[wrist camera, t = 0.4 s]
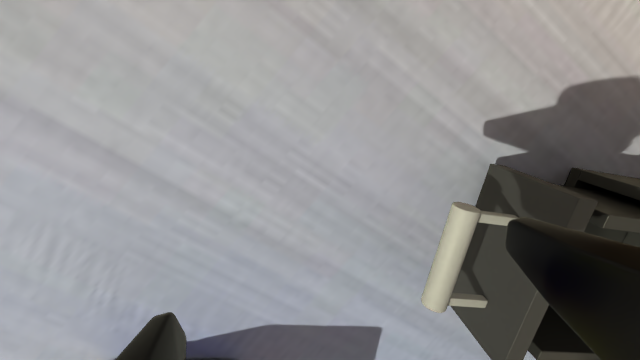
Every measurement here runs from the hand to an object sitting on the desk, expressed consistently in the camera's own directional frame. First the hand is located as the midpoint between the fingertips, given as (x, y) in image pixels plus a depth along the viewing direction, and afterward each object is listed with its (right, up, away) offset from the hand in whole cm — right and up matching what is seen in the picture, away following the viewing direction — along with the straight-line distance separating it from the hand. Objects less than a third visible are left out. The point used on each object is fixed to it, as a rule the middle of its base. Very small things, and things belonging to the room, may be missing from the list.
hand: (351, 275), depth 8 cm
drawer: (+15, -2, +16) cm, 22 cm away
